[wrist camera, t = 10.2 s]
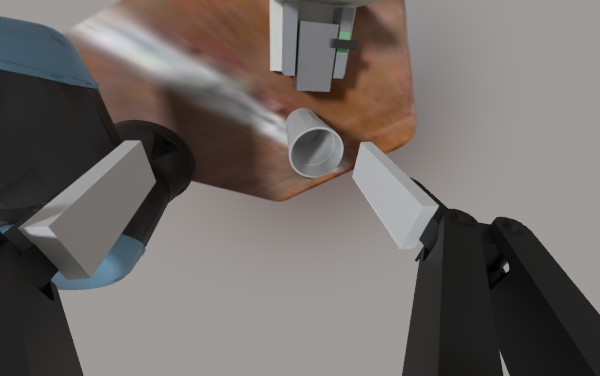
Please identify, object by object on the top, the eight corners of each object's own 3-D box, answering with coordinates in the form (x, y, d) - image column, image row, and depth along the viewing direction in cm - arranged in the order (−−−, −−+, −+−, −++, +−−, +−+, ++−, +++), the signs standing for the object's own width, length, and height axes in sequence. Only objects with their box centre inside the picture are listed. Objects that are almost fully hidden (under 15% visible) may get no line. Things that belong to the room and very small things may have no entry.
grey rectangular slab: (292, 85, 34) (297, 91, 30) (295, 22, 30) (301, 20, 26) (337, 87, 36) (347, 93, 32) (346, 27, 31) (359, 26, 27)
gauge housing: (270, 69, 34) (274, 81, 26) (269, -17, 28) (275, -38, 20) (341, 73, 36) (367, 85, 28) (354, -6, 30) (392, -21, 22)
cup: (326, 137, 43) (346, 168, 33) (288, 150, 43) (297, 183, 33) (318, 97, 38) (339, 119, 28) (275, 111, 38) (281, 137, 28)
